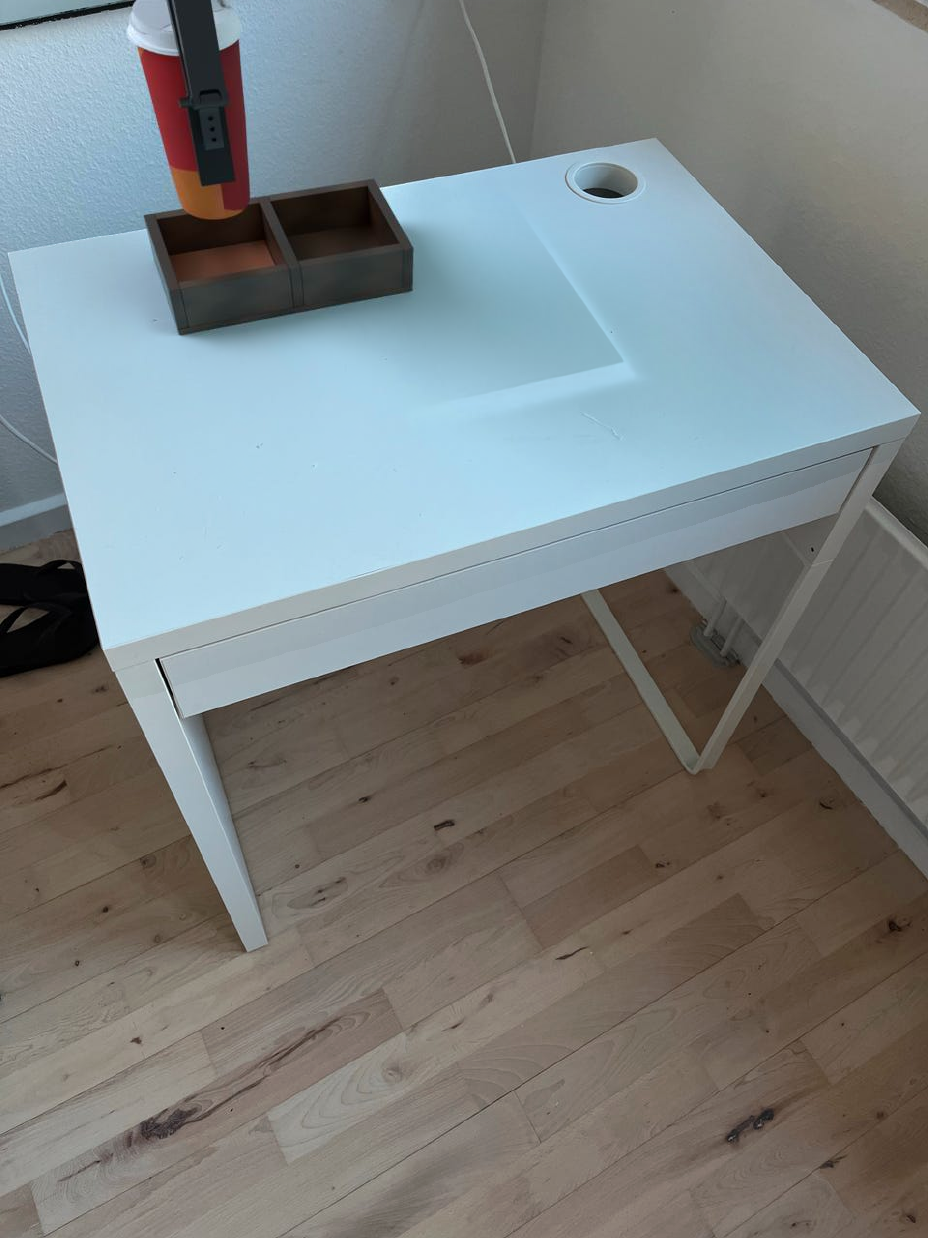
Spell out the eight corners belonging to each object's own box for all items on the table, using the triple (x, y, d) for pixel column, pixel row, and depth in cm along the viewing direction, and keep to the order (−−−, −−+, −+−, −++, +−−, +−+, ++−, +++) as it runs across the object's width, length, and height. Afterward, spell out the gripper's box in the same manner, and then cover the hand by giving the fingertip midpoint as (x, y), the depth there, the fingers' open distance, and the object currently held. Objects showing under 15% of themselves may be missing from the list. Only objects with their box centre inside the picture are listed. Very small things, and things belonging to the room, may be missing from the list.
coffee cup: (246, 164, 84) (220, -25, 71) (276, 215, 80) (254, 24, 67) (153, 182, 81) (109, -10, 69) (179, 236, 77) (137, 41, 65)
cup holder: (178, 335, 83) (168, 291, 79) (153, 258, 89) (143, 214, 85) (412, 290, 89) (413, 247, 85) (374, 221, 94) (374, 177, 91)
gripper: (244, -145, 54) (283, 216, 73) (170, -259, 64) (221, 82, 83) (110, -137, 52) (186, 232, 71) (57, -256, 63) (135, 93, 81)
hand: (205, 151), depth 77 cm, fingers closed on coffee cup, 8 cm apart
